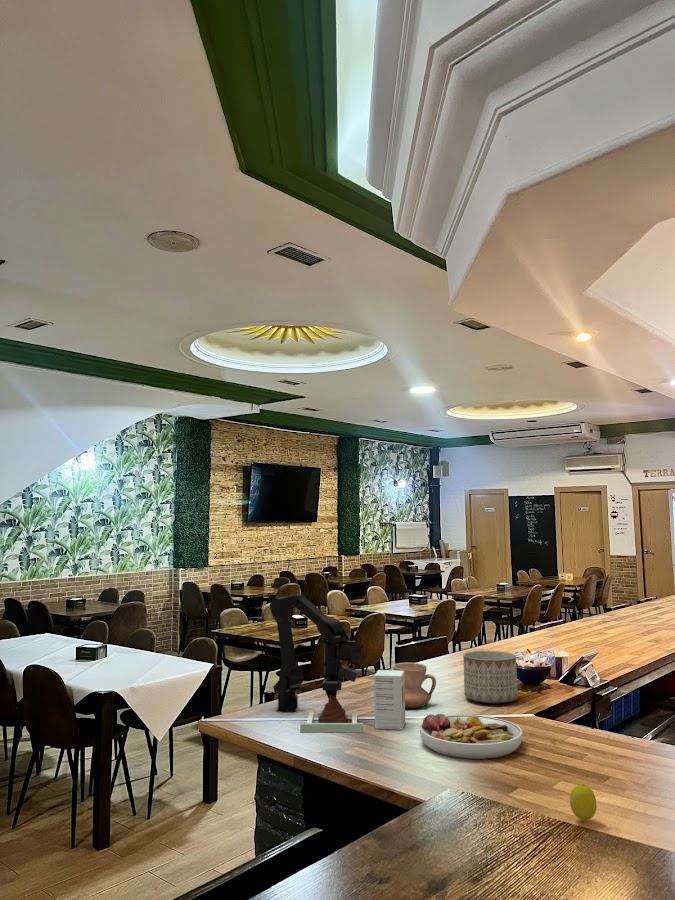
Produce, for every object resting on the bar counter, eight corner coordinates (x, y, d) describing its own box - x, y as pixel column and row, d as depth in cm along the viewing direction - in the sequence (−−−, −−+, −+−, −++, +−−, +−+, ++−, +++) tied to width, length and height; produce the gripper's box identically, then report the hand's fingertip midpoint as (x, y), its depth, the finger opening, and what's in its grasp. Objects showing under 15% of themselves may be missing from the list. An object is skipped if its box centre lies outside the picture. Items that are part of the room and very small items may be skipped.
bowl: (526, 735, 211) (525, 709, 212) (518, 767, 183) (517, 737, 184) (431, 727, 221) (430, 702, 222) (409, 756, 193) (409, 728, 193)
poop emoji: (315, 726, 222) (314, 697, 223) (323, 719, 230) (323, 691, 231) (344, 728, 219) (343, 698, 220) (351, 721, 227) (351, 692, 228)
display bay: (300, 732, 216) (300, 724, 216) (303, 719, 230) (303, 712, 230) (363, 732, 215) (362, 724, 215) (362, 719, 229) (362, 711, 230)
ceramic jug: (386, 710, 240) (386, 669, 242) (386, 699, 255) (386, 661, 256) (437, 712, 239) (437, 670, 240) (434, 701, 253) (434, 662, 255)
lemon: (566, 817, 151) (564, 779, 152) (590, 815, 151) (588, 778, 152) (577, 827, 146) (575, 788, 146) (602, 826, 146) (600, 787, 147)
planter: (499, 692, 265) (498, 649, 267) (528, 704, 247) (526, 657, 249) (455, 696, 259) (454, 652, 261) (481, 709, 241) (479, 661, 243)
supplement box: (402, 730, 217) (401, 676, 218) (374, 729, 218) (373, 675, 220) (405, 722, 226) (404, 670, 228) (378, 720, 228) (377, 669, 230)
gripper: (356, 664, 222) (356, 713, 221) (356, 653, 241) (356, 698, 239) (322, 664, 222) (322, 713, 221) (324, 653, 241) (325, 698, 239)
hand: (333, 705), depth 230 cm, fingers closed
